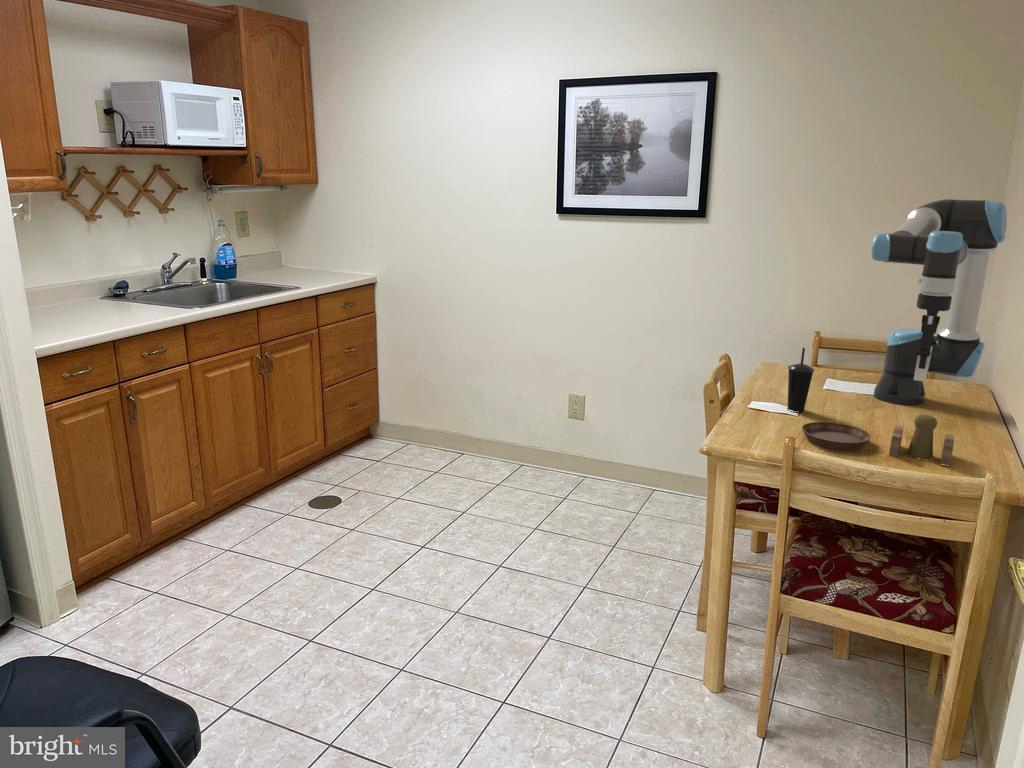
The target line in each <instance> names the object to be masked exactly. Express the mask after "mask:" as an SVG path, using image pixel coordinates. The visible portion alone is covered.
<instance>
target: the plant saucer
mask: <svg viewBox="0 0 1024 768" xmlns="http://www.w3.org/2000/svg"><path fill="white" fill-rule="evenodd" d="M801 429H802V432H803V434H804V435H805V437H806V438H807V439H808V440H809V442H812V443H814V444H816V445H818V446H821V447H825V448H829V449H836V450H856V449H859V448H861V447H863V446H864V445H866V444H867V443H868V442H869V441H870V439H871V437H872V435H871V434H870V433H869V432H868V431H866V430H864V429H862V428H860V427H857V426H853V425H849V424H845V423H839V422H831V421H813V422H807V423H805V424H803V425H802V427H801Z"/></svg>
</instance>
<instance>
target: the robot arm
mask: <svg viewBox="0 0 1024 768" xmlns="http://www.w3.org/2000/svg"><path fill="white" fill-rule="evenodd" d="M1007 214H1008V213H1007V206H1006V205H1005V203H1004V202H1001V201H995V200H989V199H986V200H985V199H983V200H982V199H952V198H948V199H947V198H945V199H939V200H936V201H931V202H928V203H926V204H923V205H921V206H918V207H917V208H915V209H913V210H912V211H911V212H910V213H909V214H908V216H907V217H906V220H905V222H904V223H902V225H900V226H899V227H897V229H895V231H894V232H892V233H889V232H886V233H883V232H882V233H877V234H876V235H875V236H874V238H873V241H872V244H871V252H870V253H871V258H872V259H873V261H877V262H883V263H893V264H906V265H907V264H909V265H918V266H919V265H920V266H922V267H923V268H922V272H921V273H922V274H921V278H919V279H918V280H917V282H918V283H919V284H920V285H919V292H920V293H918V295H917V301H916V307H917V308H918V309H920V310H926V314H922V317H921V328H903V329H902V328H901V329H896V330H893V331H891V333H890V334H889V337H888V341H887V343H886V353H885V356H884V357H885V358H884V363H883V365H884V366H883V371H882V374H881V375H880V376H881V377H880V378H879V380H878V382H877V383H876V385H875V387H874V391H873V396H874V398H877V400H878V399H879V400H880V401H884V402H888V403H892V404H897V405H898V404H899V405H908V406H909V405H910V406H913V405H915V406H917V405H921V404H924V403H925V401H926V400H925V399H926V392H925V391H926V390H925V387H924V382H926V380H927V375H928V373H934V374H940V375H945V376H946V375H947V376H951V377H956V378H957V377H959V378H971V377H973V375H974V374H975V372H976V369H977V367H978V365H979V363H980V361H981V358H982V355H983V352H984V349H985V342H983V341H980V340H981V335H980V334H979V332H978V331H977V325H978V320H979V315H980V309H981V304H982V303H981V302H982V298H983V292H984V285H985V281H986V275H987V270H988V264H989V259H990V255H991V253H992V252H994V251H995V250H996V249H997V248H998V244H1000V243H1003V242H1004V241H1005V239H1006V232H1007V226H1008V225H1007V222H1008V219H1007V218H1008V215H1007ZM939 312H946V314H945V318H944V324H943V327H942V328H940V329H939V330H938V326H939V325H940V320H941V315H939V316H938V314H939ZM937 330H938V331H937ZM935 334H936V336H935Z"/></svg>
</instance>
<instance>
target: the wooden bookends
mask: <svg viewBox="0 0 1024 768" xmlns="http://www.w3.org/2000/svg"><path fill="white" fill-rule="evenodd" d="M904 428H905V427H904V426H901V425H895V427H894V430H893V432H892V435H891V440H890V447H889V454H888V456H889V457H894V458H898V456H899V452H900V449H901V444H902V440H903V434H904ZM954 443H955V435H953V434H950V433H949V434H948V433H947V434H946V433H945V435H944V441H943V446H942V450H941V457H942V458H941V457H940V458H941V459H940V465H941V464H945V465H951V462H952V454H953V451H954Z"/></svg>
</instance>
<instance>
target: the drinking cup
mask: <svg viewBox="0 0 1024 768" xmlns="http://www.w3.org/2000/svg"><path fill="white" fill-rule="evenodd" d="M805 352H806V348H805V347H802V350H801V358H800V363H794V364H791V365H788V366H787V369H788V378H787V379H788V383H787V384H788V385H787V387H788V388H787V410H788V409H790V410H793V411H799V412H798V413H803V412H804V411H805V407H806V404H807V403H806V402H807V399H808V396H809V395H808V394H809V391H810V386H811V383H812V378H813V374H814V372H815V368H814V367H812V366H809V365H808V364H805V363H804V358H805Z"/></svg>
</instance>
